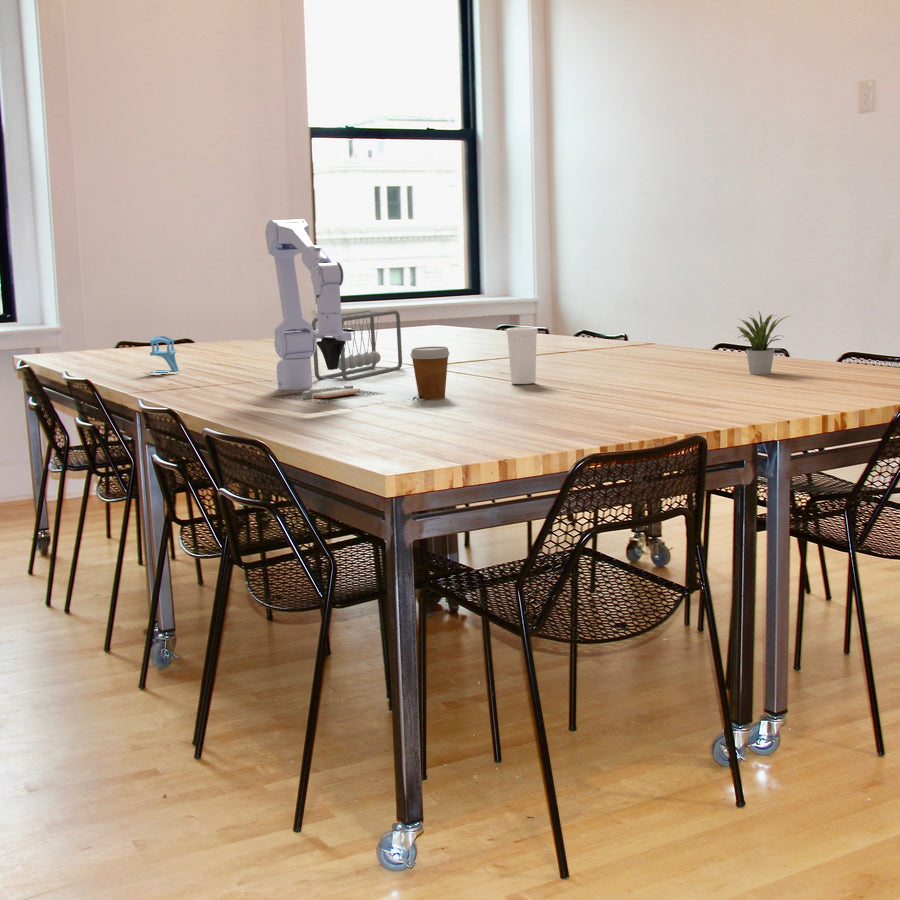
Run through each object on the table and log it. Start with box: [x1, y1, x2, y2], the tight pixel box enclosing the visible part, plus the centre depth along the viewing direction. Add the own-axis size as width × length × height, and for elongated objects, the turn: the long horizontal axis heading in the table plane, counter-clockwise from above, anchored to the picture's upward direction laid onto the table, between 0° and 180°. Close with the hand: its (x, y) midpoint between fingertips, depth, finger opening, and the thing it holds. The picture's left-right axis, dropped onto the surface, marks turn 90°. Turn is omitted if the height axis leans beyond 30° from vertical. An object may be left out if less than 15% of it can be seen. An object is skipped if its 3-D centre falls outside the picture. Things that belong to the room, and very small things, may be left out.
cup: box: [506, 326, 539, 385], centre depth 284 cm, size 8×8×14 cm
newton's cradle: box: [311, 309, 403, 382], centre depth 320 cm, size 30×10×18 cm, turn 150°
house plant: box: [736, 311, 791, 376], centre depth 285 cm, size 14×14×16 cm
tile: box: [312, 388, 361, 399], centre depth 270 cm, size 1×10×6 cm
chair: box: [149, 335, 180, 373], centre depth 343 cm, size 8×8×12 cm
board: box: [270, 384, 386, 404], centre depth 273 cm, size 22×20×3 cm
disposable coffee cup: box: [409, 345, 451, 401], centre depth 266 cm, size 10×10×12 cm
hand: (332, 369), depth 269 cm, fingers closed
